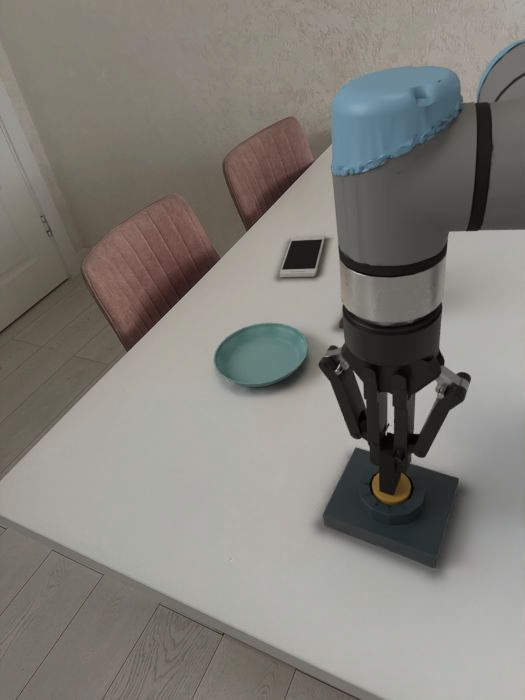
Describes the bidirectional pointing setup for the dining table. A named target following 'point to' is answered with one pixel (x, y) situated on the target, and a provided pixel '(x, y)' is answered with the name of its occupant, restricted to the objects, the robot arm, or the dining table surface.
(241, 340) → the saucer
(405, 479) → the bell button
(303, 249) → the smartphone
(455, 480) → the push button box
